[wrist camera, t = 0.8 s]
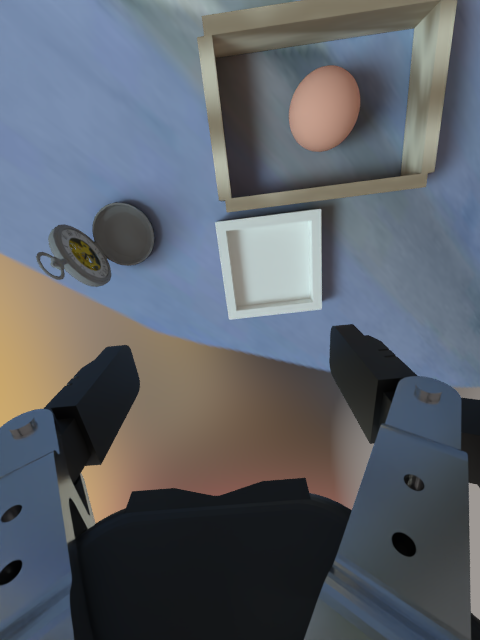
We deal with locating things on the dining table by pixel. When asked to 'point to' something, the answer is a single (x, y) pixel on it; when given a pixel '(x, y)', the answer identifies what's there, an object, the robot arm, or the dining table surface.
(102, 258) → the pocket watch
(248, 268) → the dish
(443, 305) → the dining table surface
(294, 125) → the ball
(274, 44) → the beige rectangular frame
